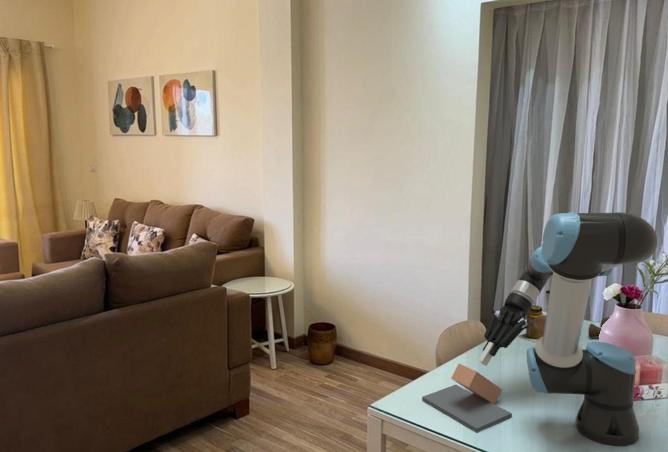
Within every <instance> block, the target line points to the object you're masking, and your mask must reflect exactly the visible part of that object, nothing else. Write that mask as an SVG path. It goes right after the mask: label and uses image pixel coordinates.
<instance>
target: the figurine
mask: <svg viewBox="0 0 668 452" xmlns="http://www.w3.org/2000/svg"><path fill="white" fill-rule="evenodd" d="M545 321H546V314H543V315H539V316H537V317H536V318H535V320H534V325H533V326H534V327H535V328H536V329H537V330H538V335H539V337H540V338H541V337H543V333H544V327H545Z"/></svg>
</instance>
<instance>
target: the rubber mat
mask: <svg viewBox="0 0 668 452" xmlns="http://www.w3.org/2000/svg"><path fill="white" fill-rule="evenodd" d="M421 398H422V399H421V401H423V402H424V403H426V404H428V405H429V406H431V407H432V408H434V409H435V410H438V411H440V412H441V413H442V414H445V415H446V416H448V417H449V418H452V420H455V421H456V422H458V423H460V424H462V425H463V426H465V427H467V428H468V429H469V430H472V431H473V432H475V433H479V432H481V431H484V430H486V429H488V428H490V427H492V426H496V425H497V424H500V423H502V422H504V421H506V420H508V419H511V418H513V413H512V412H510V411H509V410H506V409H504V408H503V407H500V406H499V405H497V404H496V403H495V404H493V403H491V402H489V401H487V400H485V399H483V398H481V397H479V396H477V395H475V394H474V393H472V392H471V391H469V390H468V389H466V388H465V387H463V386H462V387H461V385H458V384H454V385H453V384H452V385H450V386H448V387H444V388H442V389H439V390H437V391H435V392H432V393H429V394H426V395H423V396H422V397H421Z"/></svg>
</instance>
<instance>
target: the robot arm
mask: <svg viewBox="0 0 668 452" xmlns="http://www.w3.org/2000/svg"><path fill="white" fill-rule="evenodd" d="M658 244H659V243H658V236H657V233H656V230H655V229H654V227H653V226H652V225H651V224H650V223H649V222H648V221H647V220H646V219H643V217H640V216H638V215H636V214H632V213H629V212H620V211H619V212H575V211H570V212H567V213H566V212H565V213H562V212H561V213H560V212H559V213H555V214H554V215H552V216H551V217H549V218H548V221H547V222H546V224H545V226H544V230H543V233H542V245H541V246H539V247H537V249H536V250H534V252H533V253H532V255H531V257H530V259H529V261H528V262H527V264H526V266H525V268H524V269H523V272H522V273H521V275H520V277H519V278H518V280H517V281H516V283H515V284H514V286H513V287H512V289H511V291H510V292H509V294H508V296H507V297H506V299H505V300H504V305H503V306H502V307H500V309H499V310H496V311H495V310H494V309H493V310H491V312H490V316H491V317H490V319H489V322H488V324H487V327H486V329H485V333H484V336H483V337H484V338H485V340H486V343H485V345H484V346H483V348H482V353H481V355H479V358H478V361H479V363H480V364H482V365H484V366H486V367H487V366H488V364H489V363H490V361H491V359H492V358H493V357H495V356H496V354H497V353H498V351H499V350H500V349H501V348H503V349H507V348H508V347H509V346H510V345H511V344H512V343H513V342H514V340H515V339H516V338H517V337H519V335H521V333H522V332H523V331H524V330H526V328H527V327H528V326H529V325H528V324H527V323H526V321H527V320H526V316H527V314H528V313H529V311H530V309H531V308H532V306H533V305H534V303H536V301H537V299H538V297H539V296H540V294H541V293H542V290H543V289H544V287H545V285H546V284H547V283H548V281H549V280H550V278H551V276H552V279H551V284H550V289H549V290H550V295H549V302H548V306H547V309H546V314H545V315H546V321H545V327H544V333H543V337H541V338H539V339H538V340H537V341H535V345H534V346H532V347H528V348H527V349H526V364H527V371H528V376H529V382H530V385H531V388H532V390H534V391H535V392H537V393H542V394H543V393H544V394H547V395H548V394H549V395H550V394H557V395H562V394H563V395H584V398H583V400H582V403H581V405H580V407H579V409H578V412H577V414H576V418H575V426H576V429H577V431H578V432H579V433H580V434H581V435H583V436H584V437H586V438H588V439H590V440H592V441H595V442H598V443H599V444H604V445H611V446H628V445H632V444H635V443H636V442H637V441H638V439H639V435H640V427H639V424H638V420H637V417H636V413H635V410H634V400H635V399H634V396H635V383H636V374H637V368H636V357H635V356H634V354H632V352H631V351H629V350H628V349H626V348H624V347H621V346H620V345H616V344H612V343H610V342H606V341H605V342H603V341H591V342H588V343H587V345H586V346H585V349H584V348H583V349H582V348H581V346H580V345H579V343H580V338H581V334H582V330H583V324H584V322H585V321H584V319H585V315H586V310H587V305H588V302H589V296H590V292H591V287H592V286H591V285H592V282H593V280H595V279H596V278H597V277H606V276H610V275H611V274H612V271H613V269H614V268H616V267H619V266H622V265H629V266H630V265H638V264H640V263H643V262H645V261H647V260H648V259H650V258H651V257H653V255H654V254H655V253H656V250H657V248H658Z"/></svg>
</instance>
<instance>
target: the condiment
mask: <svg viewBox="0 0 668 452" xmlns="http://www.w3.org/2000/svg"><path fill="white" fill-rule="evenodd" d="M539 315H544V313H543V307H542V306H539V305H532V308H531V309H530V311H529V313H528V314H527V315H526V320H525V321H526V323H527V324H528V325H529V326H528V327H527V328H526V329H525V333H522V334H519V335H518V337H519V338H521V339H525V340H527V341H530V342H532V343H533V342H534V343H535V342H537V340H538V339H539V338H540V337H539V335H538V330H537V329H536V328H535V327H534V326H533V325H534V320H535V318H536V317H537V316H539Z"/></svg>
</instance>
